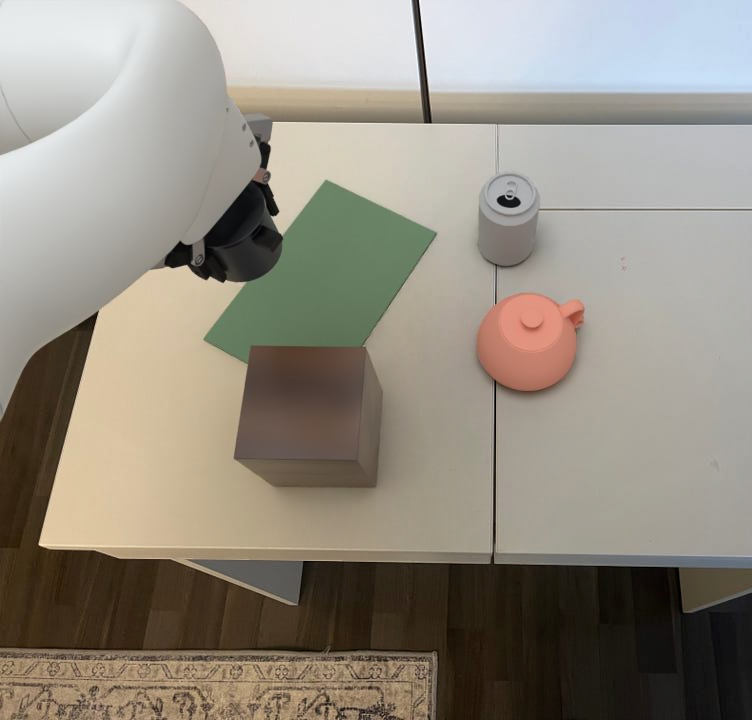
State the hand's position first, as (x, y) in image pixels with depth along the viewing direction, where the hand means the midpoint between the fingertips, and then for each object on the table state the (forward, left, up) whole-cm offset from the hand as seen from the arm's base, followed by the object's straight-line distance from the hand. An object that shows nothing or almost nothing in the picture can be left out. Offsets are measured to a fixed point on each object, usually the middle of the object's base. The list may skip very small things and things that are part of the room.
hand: (238, 239), depth 59 cm
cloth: (+9, +3, -26) cm, 27 cm away
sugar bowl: (+14, -25, -26) cm, 39 cm away
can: (+26, -15, -26) cm, 40 cm away
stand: (-8, -9, -26) cm, 28 cm away
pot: (0, 0, -2) cm, 2 cm away
